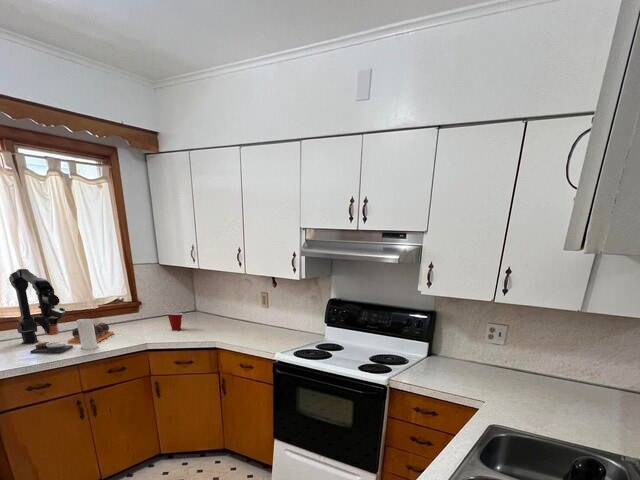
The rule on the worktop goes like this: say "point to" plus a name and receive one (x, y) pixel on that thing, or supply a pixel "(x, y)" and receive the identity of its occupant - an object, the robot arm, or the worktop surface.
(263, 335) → the worktop surface
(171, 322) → the plastic cup
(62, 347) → the scale
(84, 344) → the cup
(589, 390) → the worktop surface
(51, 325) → the bowl
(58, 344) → the scale pan
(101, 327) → the brown piece
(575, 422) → the worktop surface
